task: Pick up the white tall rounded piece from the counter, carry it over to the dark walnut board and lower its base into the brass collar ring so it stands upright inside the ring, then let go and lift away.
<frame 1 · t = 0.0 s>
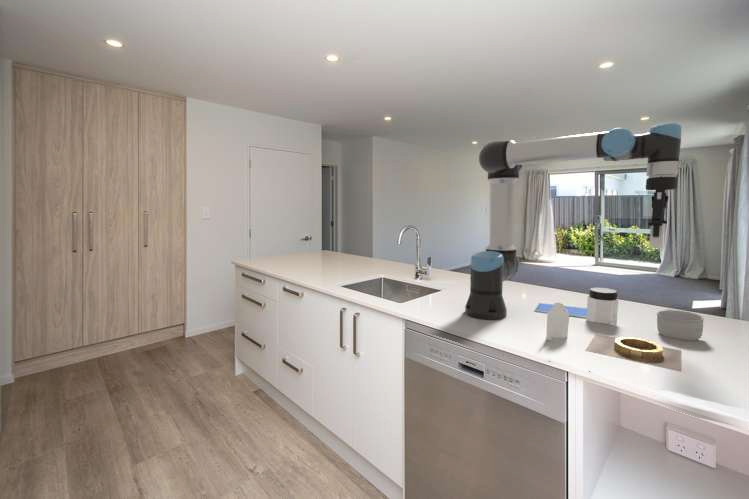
hand: (656, 245, 112), 28 cm above the table, tool pointing down, fingers open, 13 cm apart
jar: (601, 324, 124), on the table
tablet computer: (562, 312, 140), on the table
white tall rounded piece: (556, 340, 110), on the table
collar: (637, 351, 97), resting on walnut board
teacup: (676, 338, 110), on the table
walnut board: (632, 355, 98), on the table
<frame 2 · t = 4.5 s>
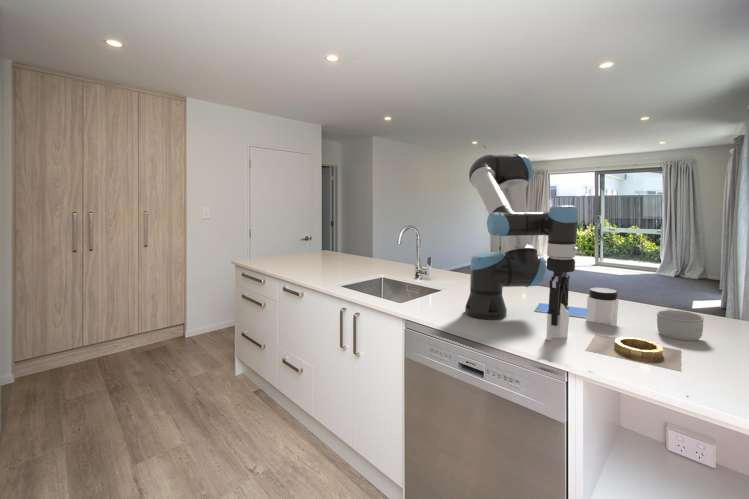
hand: (557, 332, 110), 2 cm above the table, tool pointing down, fingers closed on white tall rounded piece, 6 cm apart
white tall rounded piece: (556, 340, 110), on the table, touching gripper
everything else where it was.
when the fingers open (5 cm above the table, at t = 10.3 s): white tall rounded piece stays where it is, resting on walnut board.
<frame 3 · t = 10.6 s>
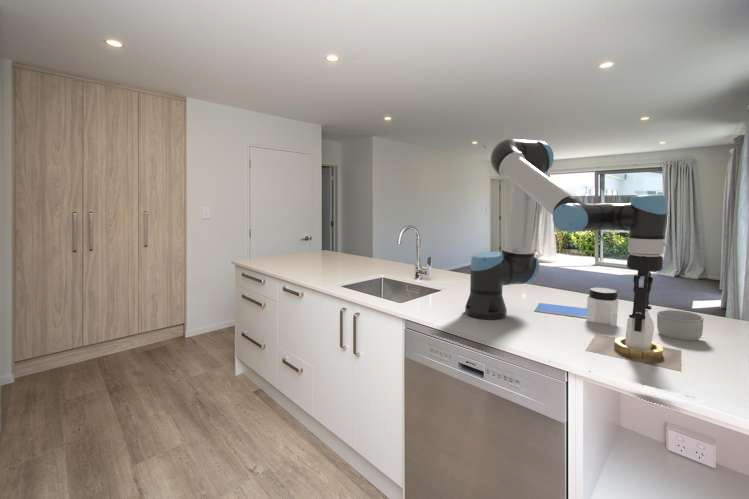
hand: (638, 337, 97), 6 cm above the table, tool pointing down, fingers open, 9 cm apart
white tall rounded piece: (637, 351, 97), point 1 cm above the table, touching walnut board
everything else where it was.
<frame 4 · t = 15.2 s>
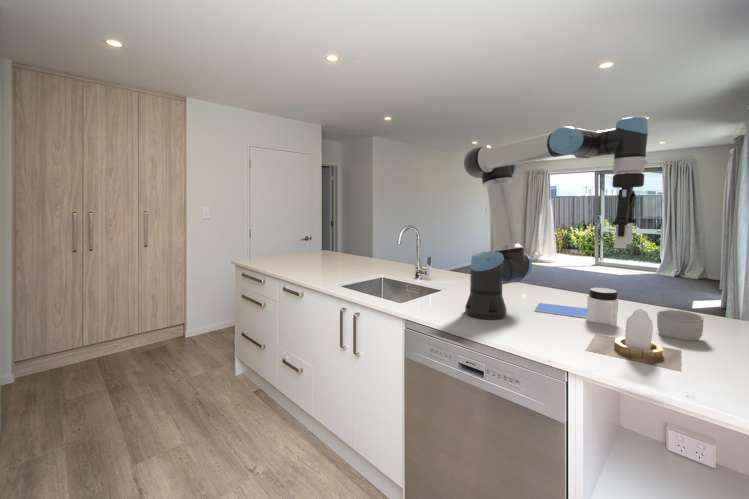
hand: (623, 246, 107), 29 cm above the table, tool pointing down, fingers open, 13 cm apart
nothing on the table moved.
at the end: white tall rounded piece 0.1 cm off-centre on the collar, point 0.0 cm above the collar's base; white tall rounded piece tilted 0°; the gripper is holding nothing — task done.
